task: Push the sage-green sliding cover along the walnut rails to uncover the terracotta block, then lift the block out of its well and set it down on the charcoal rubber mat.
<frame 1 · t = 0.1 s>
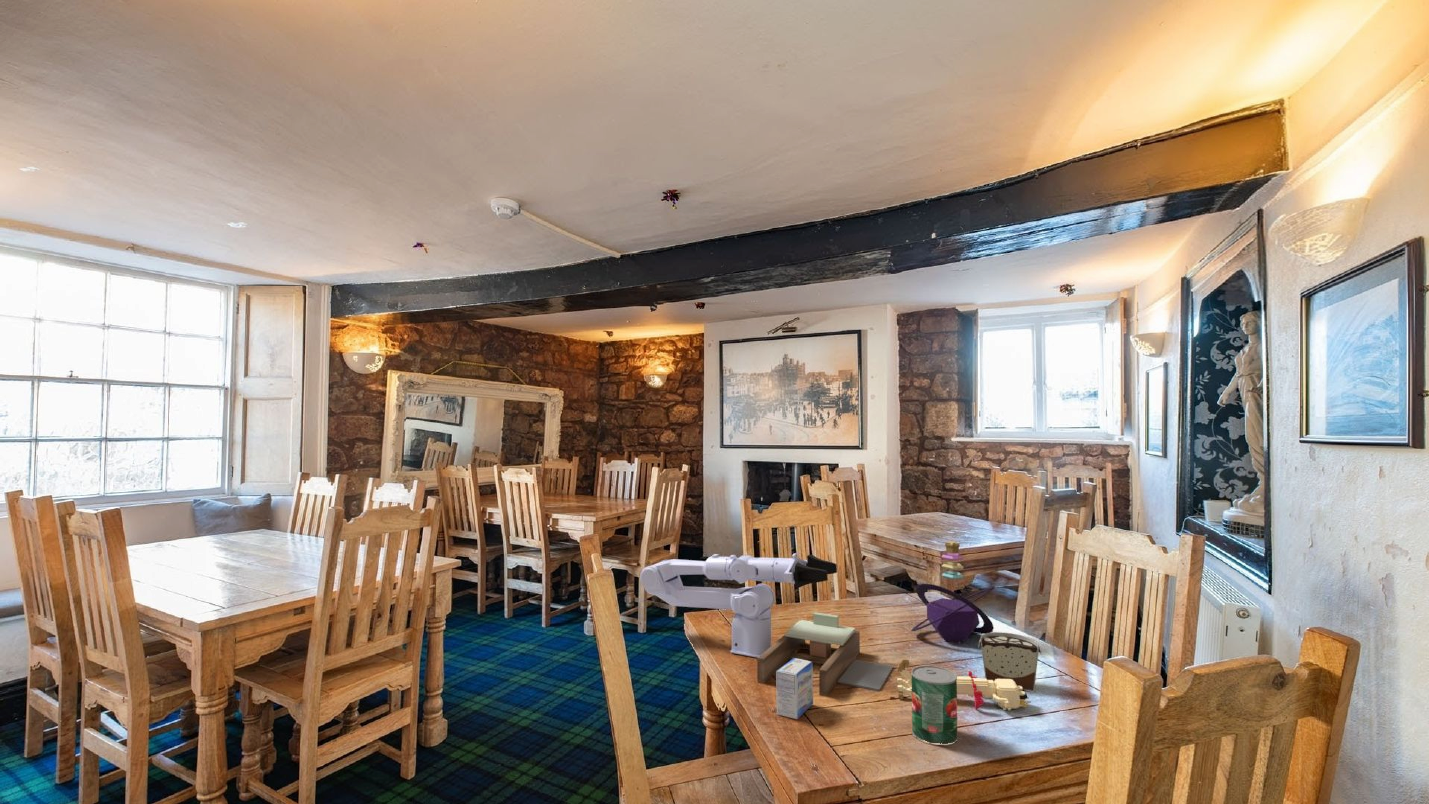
hand: (831, 571, 148), 22 cm above the table, tool horizontal, fingers open, 7 cm apart
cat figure: (962, 703, 129), on the table
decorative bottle: (953, 639, 165), on the table
block: (820, 657, 153), resting in brown wooden frame
food container: (1008, 683, 137), on the table
canned tomato: (934, 736, 115), on the table
mat: (866, 675, 142), on the table
medicine box: (795, 710, 125), on the table
cover: (820, 626, 153), point 7 cm above the table, slide at 0.0 cm
brown wooden frame: (820, 656, 153), on the table
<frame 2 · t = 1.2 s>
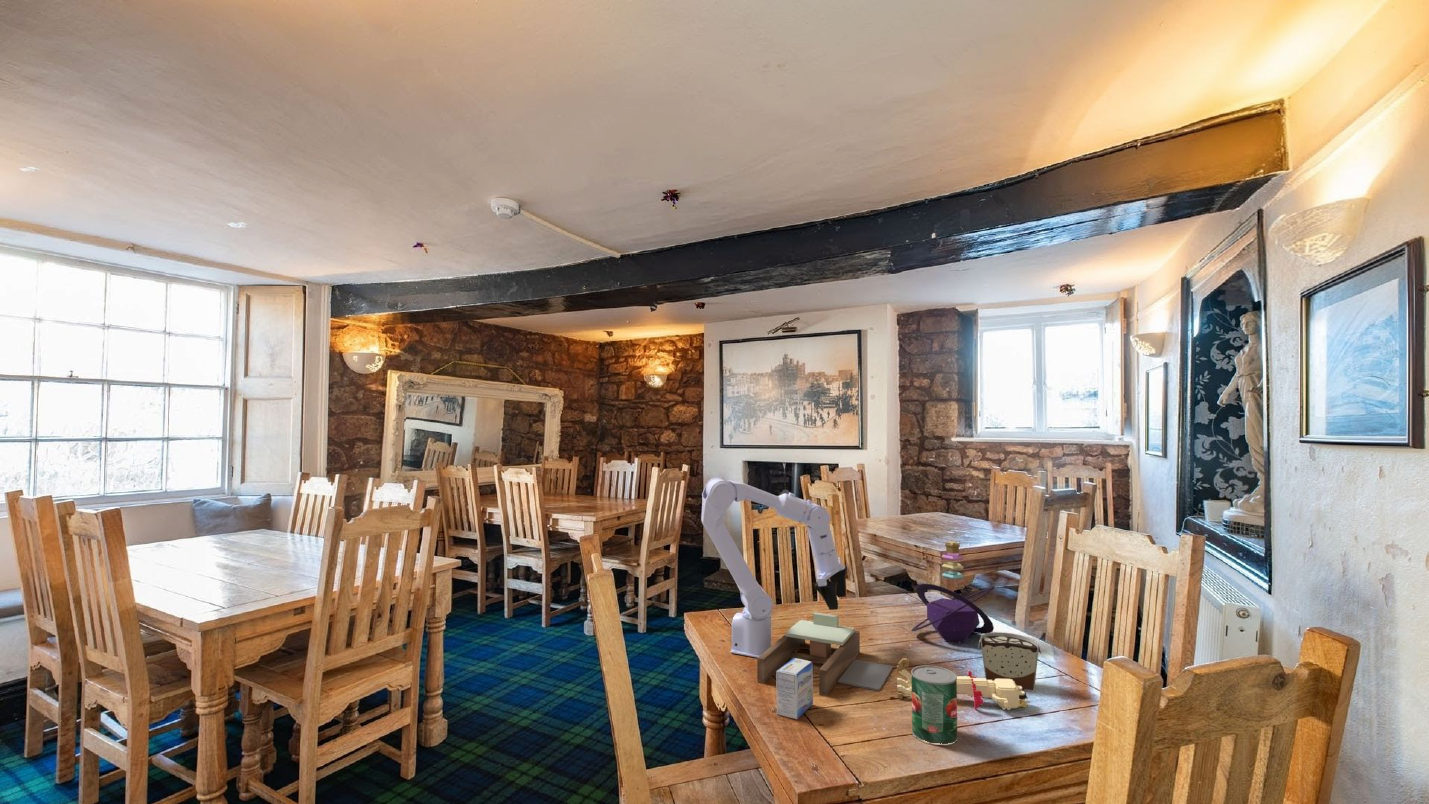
hand: (838, 602, 159), 11 cm above the table, tool tilted 15°, fingers open, 7 cm apart
nothing on the table moved.
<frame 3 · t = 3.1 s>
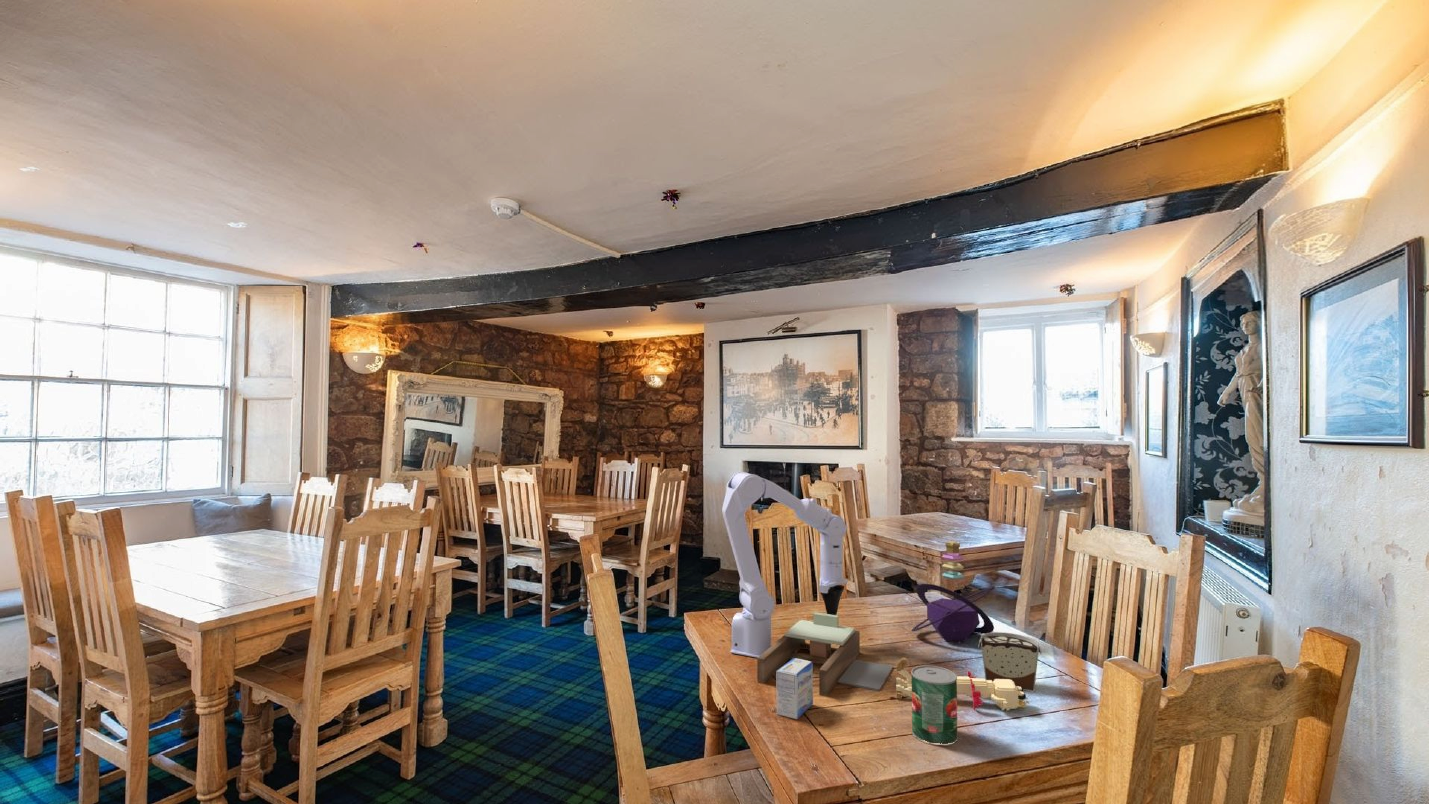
hand: (831, 614, 161), 7 cm above the table, tool pointing down, fingers closed
nothing on the table moved.
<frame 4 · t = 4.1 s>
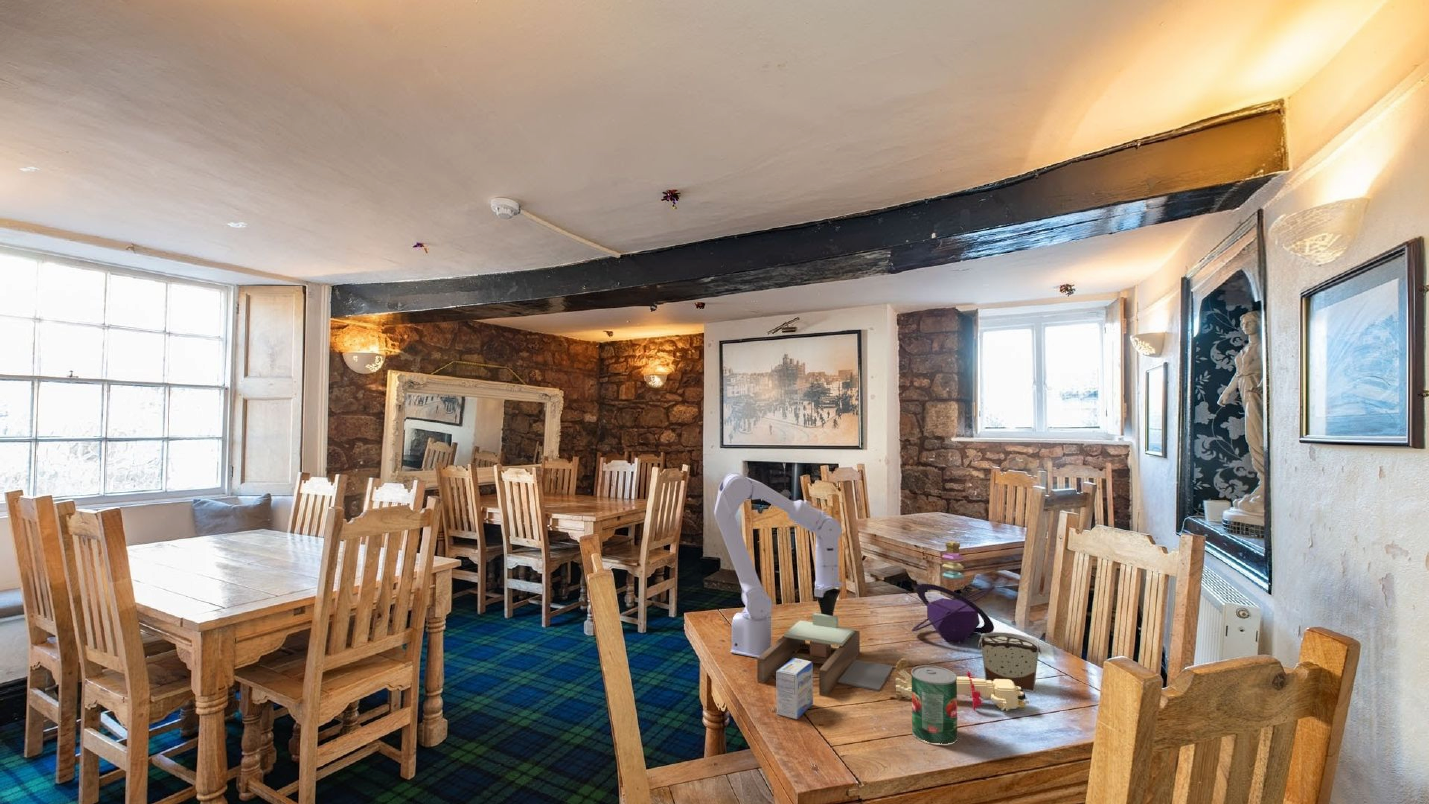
hand: (827, 619, 158), 7 cm above the table, tool pointing down, fingers closed
cover: (819, 627, 152), point 7 cm above the table, slide at 0.5 cm, touching gripper
everything else where it was.
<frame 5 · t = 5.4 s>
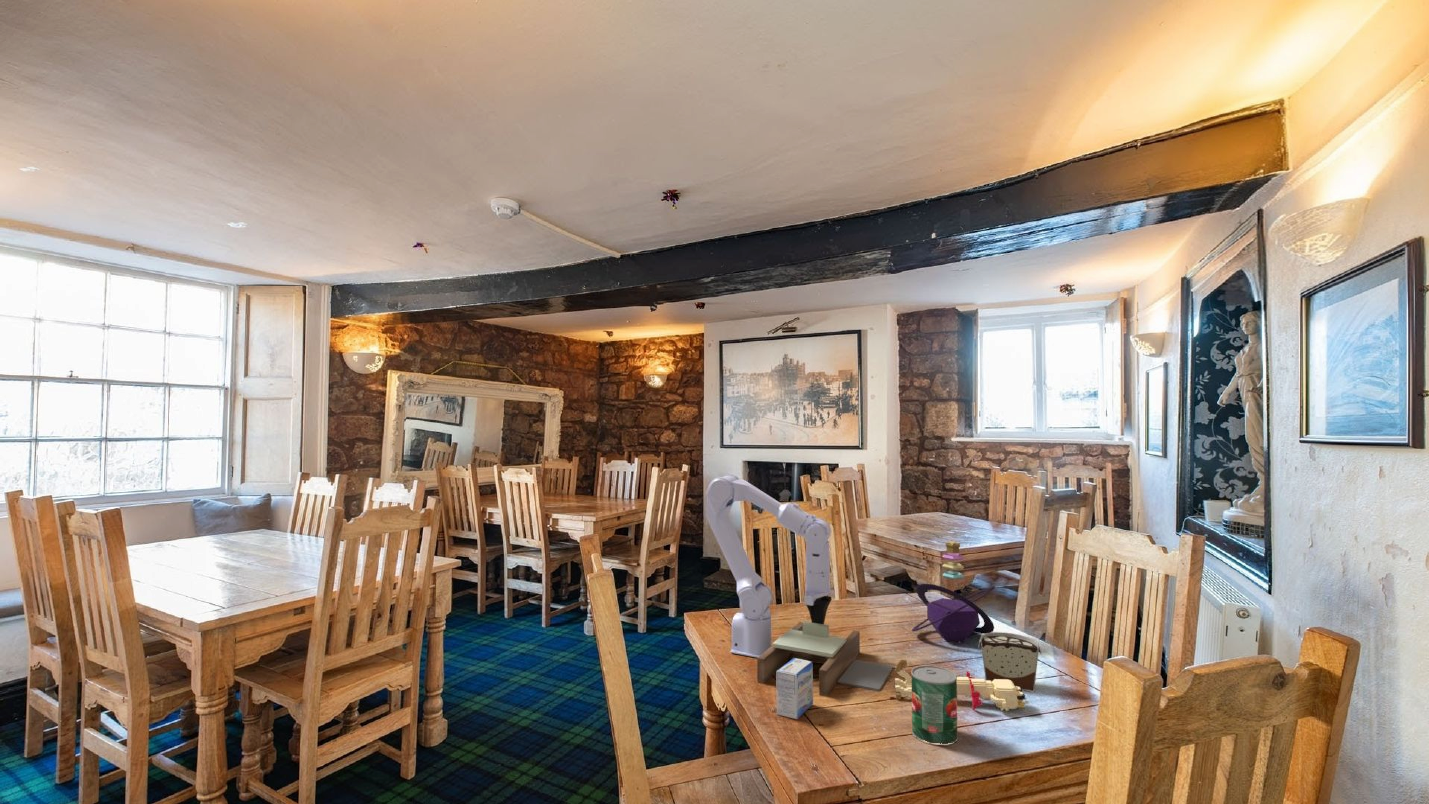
hand: (818, 627, 151), 7 cm above the table, tool pointing down, fingers closed
cover: (809, 637, 146), point 7 cm above the table, slide at 8.1 cm, touching gripper
everything else where it was.
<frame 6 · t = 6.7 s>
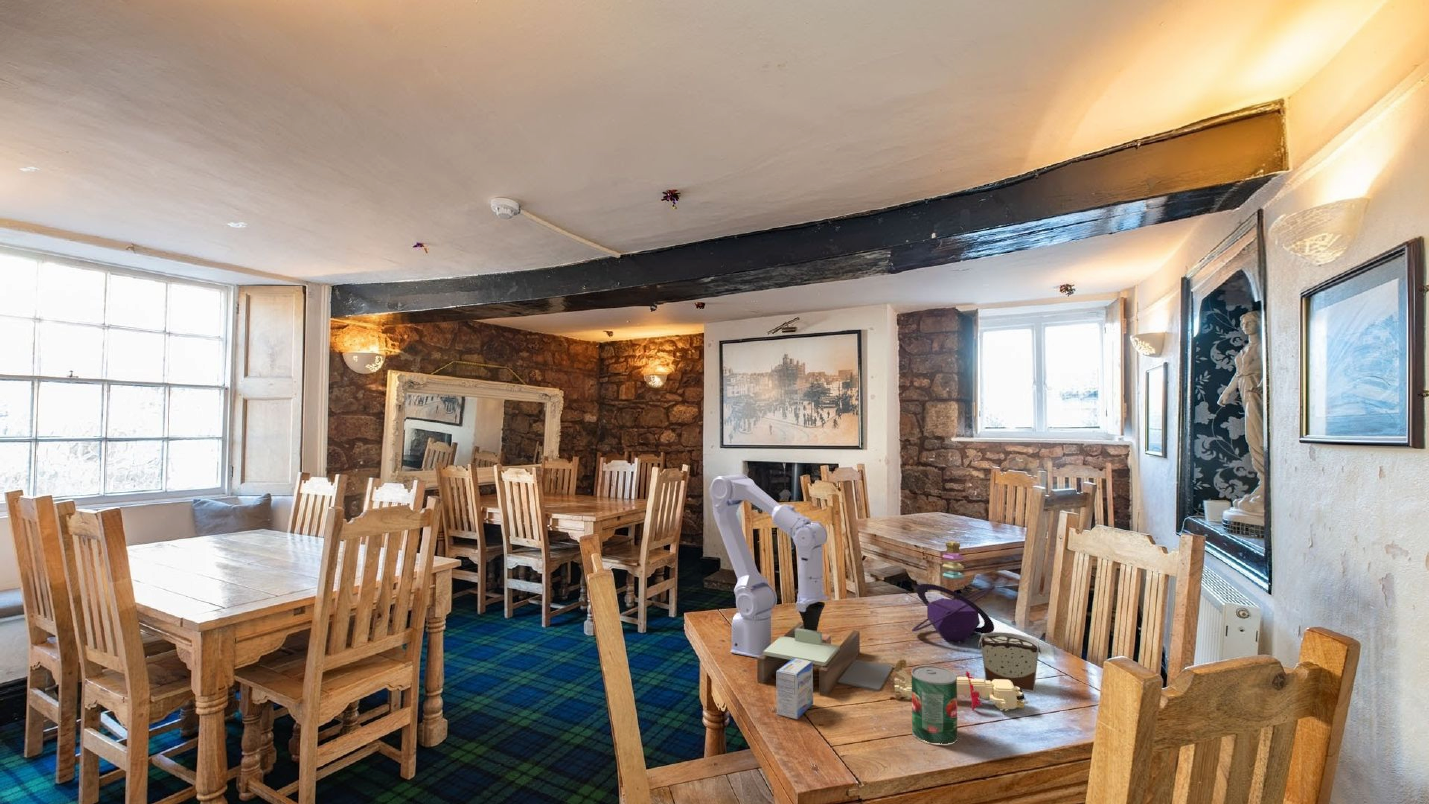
hand: (810, 634, 146), 7 cm above the table, tool pointing down, fingers closed
cover: (801, 644, 141), point 7 cm above the table, slide at 13.4 cm, touching gripper
everything else where it was.
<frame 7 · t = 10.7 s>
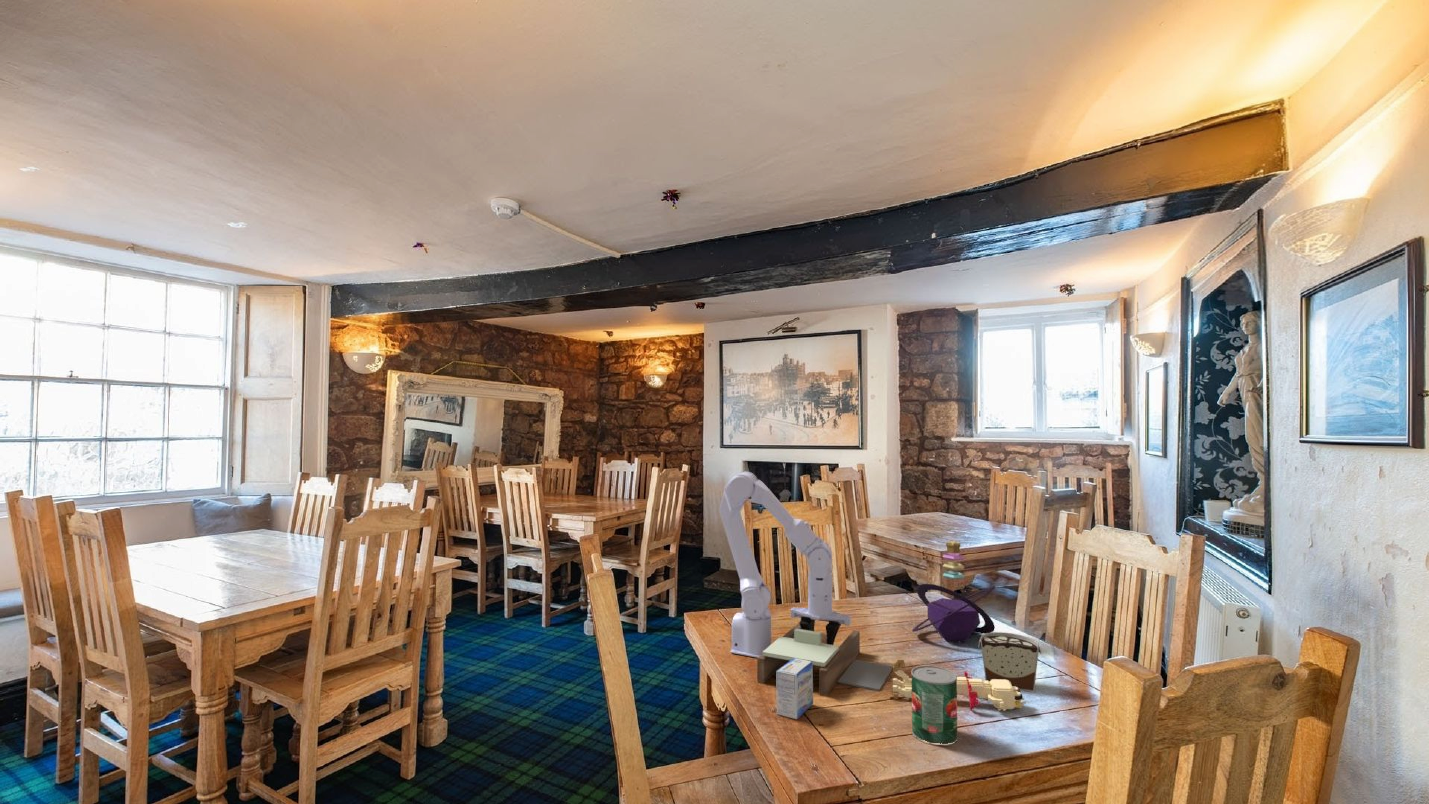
hand: (820, 650, 153), 1 cm above the table, tool pointing down, fingers closed on block, 4 cm apart
block: (820, 656, 153), resting in brown wooden frame, touching gripper
cover: (801, 645, 140), point 7 cm above the table, slide at 13.8 cm
when the fingers open (3 cm above the table, at t = 14.5 s): block drops 2 cm, resting on mat.
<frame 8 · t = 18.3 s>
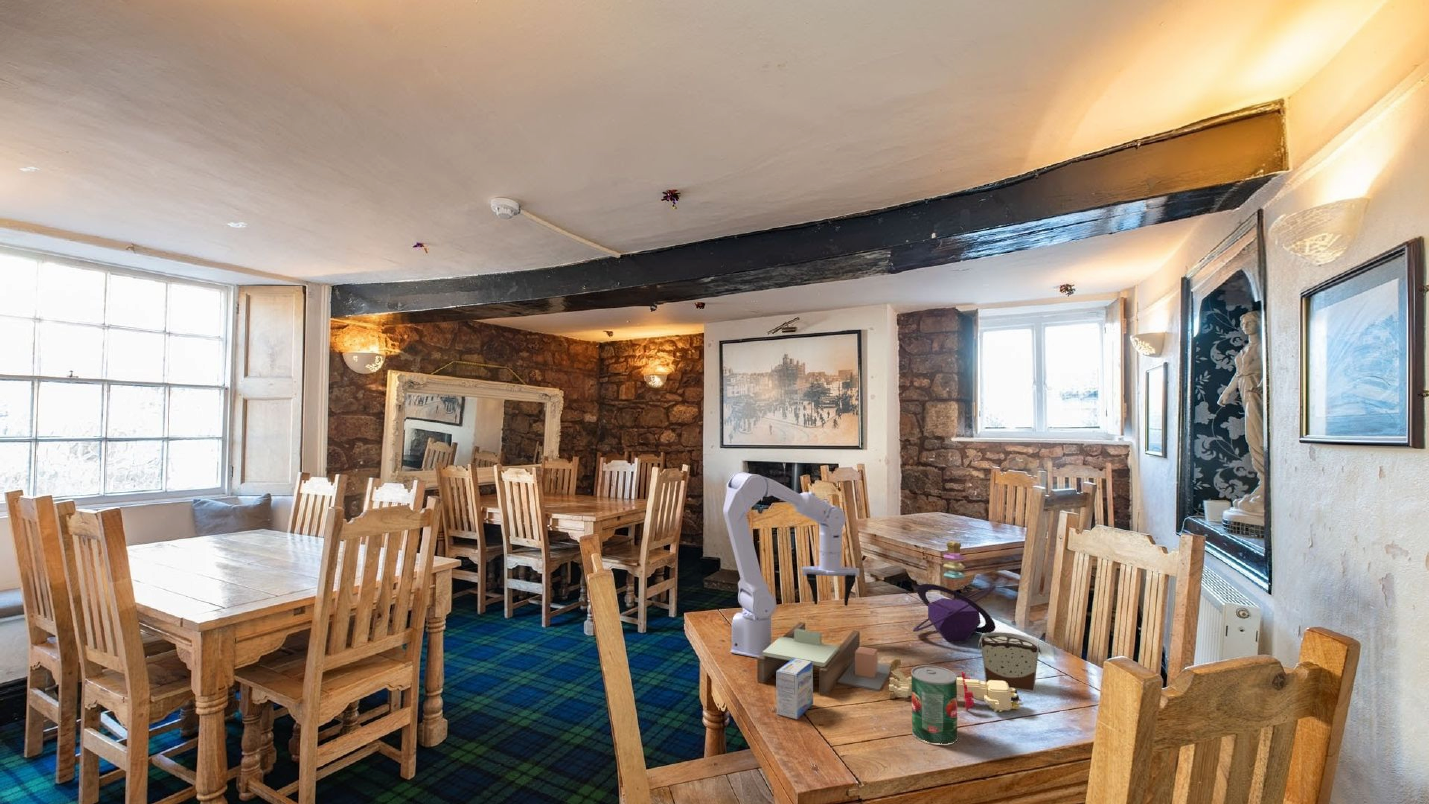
hand: (830, 603, 164), 9 cm above the table, tool pointing down, fingers open, 7 cm apart
block: (866, 673, 142), resting on mat
at the end: cover slide at 13.8 cm; block inside the target area (0.1 cm from its centre), resting on mat; block tilted 0° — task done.
